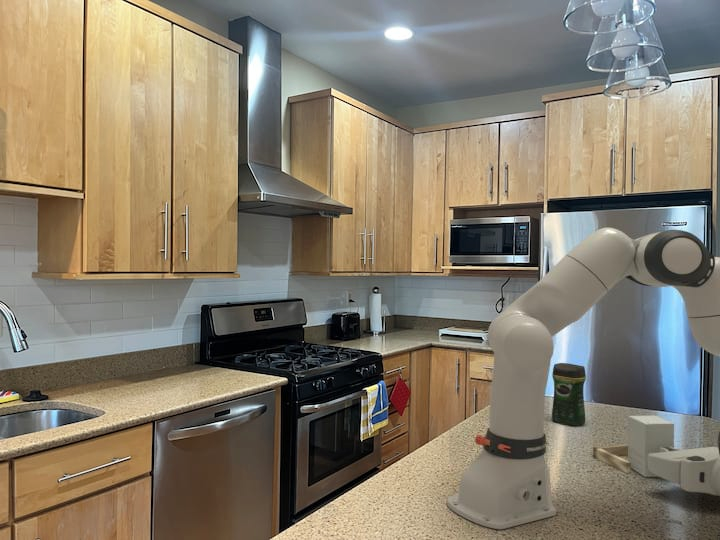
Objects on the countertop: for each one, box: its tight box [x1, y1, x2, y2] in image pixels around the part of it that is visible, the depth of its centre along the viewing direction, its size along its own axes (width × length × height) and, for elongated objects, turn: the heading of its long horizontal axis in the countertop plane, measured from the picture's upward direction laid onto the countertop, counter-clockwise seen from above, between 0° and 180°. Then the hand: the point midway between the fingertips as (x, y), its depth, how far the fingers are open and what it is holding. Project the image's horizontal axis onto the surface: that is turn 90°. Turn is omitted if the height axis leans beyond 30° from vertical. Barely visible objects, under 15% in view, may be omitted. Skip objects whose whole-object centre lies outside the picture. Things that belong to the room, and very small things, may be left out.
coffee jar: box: [551, 362, 587, 427], centre depth 169 cm, size 10×8×19 cm
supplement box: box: [627, 415, 675, 478], centre depth 129 cm, size 7×7×13 cm
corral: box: [592, 443, 632, 474], centre depth 135 cm, size 11×12×2 cm
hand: (663, 450), depth 125 cm, fingers closed
